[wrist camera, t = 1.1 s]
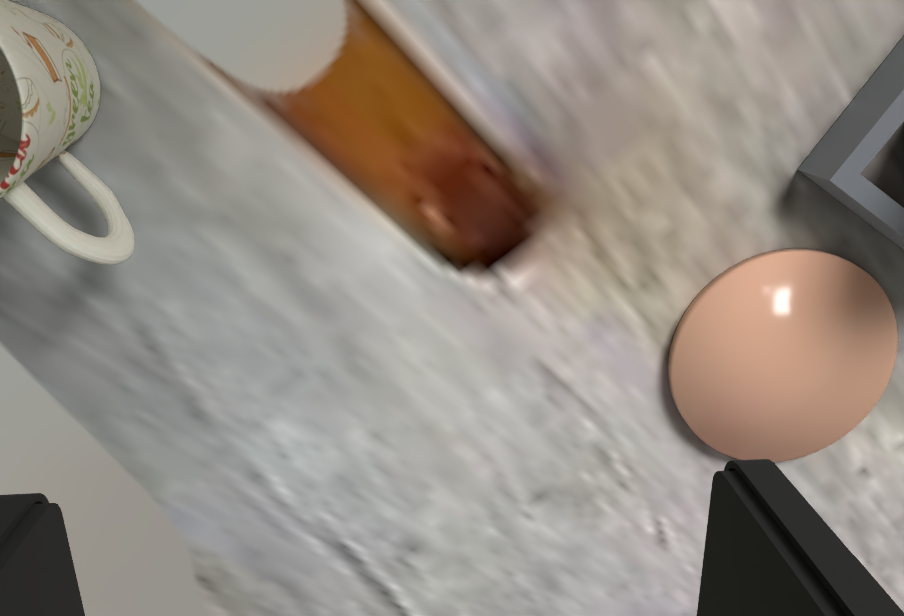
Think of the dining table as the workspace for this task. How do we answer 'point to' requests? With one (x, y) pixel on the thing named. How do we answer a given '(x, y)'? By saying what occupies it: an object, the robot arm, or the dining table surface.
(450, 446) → the dining table surface
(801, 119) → the dining table surface
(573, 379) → the dining table surface
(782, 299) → the coaster
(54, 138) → the mug
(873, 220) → the can holder
